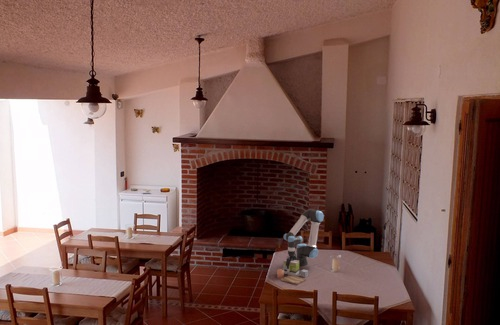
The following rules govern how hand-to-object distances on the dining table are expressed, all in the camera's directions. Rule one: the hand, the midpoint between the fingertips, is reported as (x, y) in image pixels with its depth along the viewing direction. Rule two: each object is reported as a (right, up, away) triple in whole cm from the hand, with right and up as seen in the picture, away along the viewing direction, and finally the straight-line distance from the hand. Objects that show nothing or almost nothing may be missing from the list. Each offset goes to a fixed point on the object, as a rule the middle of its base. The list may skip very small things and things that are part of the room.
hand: (291, 270), depth 488 cm
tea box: (0, -4, 0) cm, 4 cm away
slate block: (+13, -5, -7) cm, 16 cm away
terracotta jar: (-12, -5, -10) cm, 17 cm away
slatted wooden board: (0, -6, -19) cm, 20 cm away
